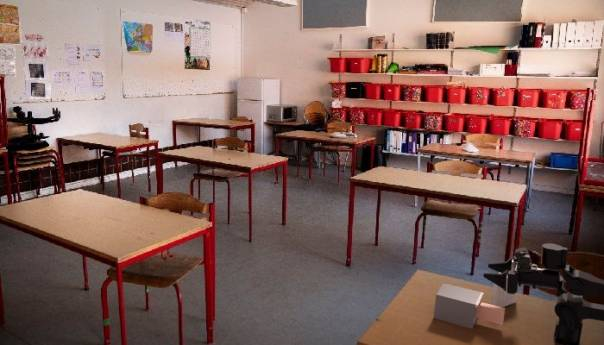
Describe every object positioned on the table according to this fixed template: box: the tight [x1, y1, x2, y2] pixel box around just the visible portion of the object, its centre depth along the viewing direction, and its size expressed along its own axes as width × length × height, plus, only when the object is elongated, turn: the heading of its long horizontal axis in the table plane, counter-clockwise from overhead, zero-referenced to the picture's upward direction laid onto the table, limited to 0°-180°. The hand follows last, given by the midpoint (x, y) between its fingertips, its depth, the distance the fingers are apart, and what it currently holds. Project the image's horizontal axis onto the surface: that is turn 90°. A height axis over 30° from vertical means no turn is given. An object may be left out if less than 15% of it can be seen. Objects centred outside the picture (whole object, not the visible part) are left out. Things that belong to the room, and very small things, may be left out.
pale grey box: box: [433, 283, 485, 330], centre depth 161 cm, size 13×10×8 cm
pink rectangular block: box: [475, 301, 506, 326], centre depth 158 cm, size 16×2×5 cm, turn 61°
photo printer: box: [490, 272, 519, 308], centre depth 171 cm, size 10×4×12 cm, turn 123°
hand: (485, 270), depth 158 cm, fingers open, 9 cm apart
